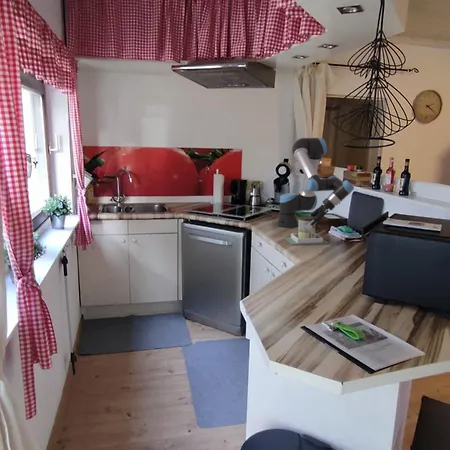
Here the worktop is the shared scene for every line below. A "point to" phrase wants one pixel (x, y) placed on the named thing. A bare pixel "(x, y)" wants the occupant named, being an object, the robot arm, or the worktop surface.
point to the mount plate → (305, 240)
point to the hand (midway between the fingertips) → (305, 226)
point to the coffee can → (302, 230)
